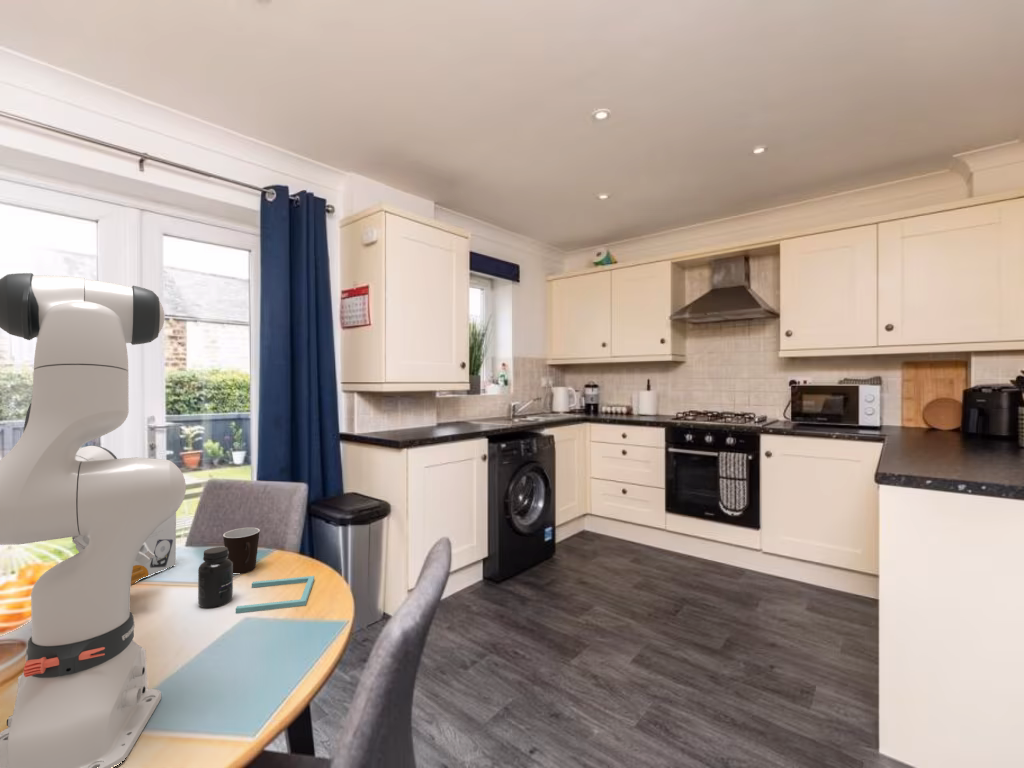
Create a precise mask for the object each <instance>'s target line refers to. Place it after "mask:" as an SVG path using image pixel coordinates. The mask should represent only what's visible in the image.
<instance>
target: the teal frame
mask: <svg viewBox="0 0 1024 768" xmlns="http://www.w3.org/2000/svg"><path fill="white" fill-rule="evenodd" d="M314 581H315V575H308V576H307V575H306V576H298V577H289V578H280V579H270V580H269V579H267V580H258V581H252V582H251V589H253V587H255V588H263V587H264V588H265V587H272V586H273V587H275V586H283V585H285V586H286V585H294V584H303V583H304V584H305V583H306V584H305V587H304V588H303V592H302V594H301V597H300V599H292V600H282V601H273V602H263V603H256V604H255V603H254V604H246V605H237V606H236V608H235V614H241V613H250V612H249V611H251V612H258V611H266V610H267V611H268V610H277V609H285V608H286V609H287V608H293V607H294V608H295V607H305V606H306V605H307V602H308V599H309V596H310V593H311V590H312V588H313V585H314Z"/></svg>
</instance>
